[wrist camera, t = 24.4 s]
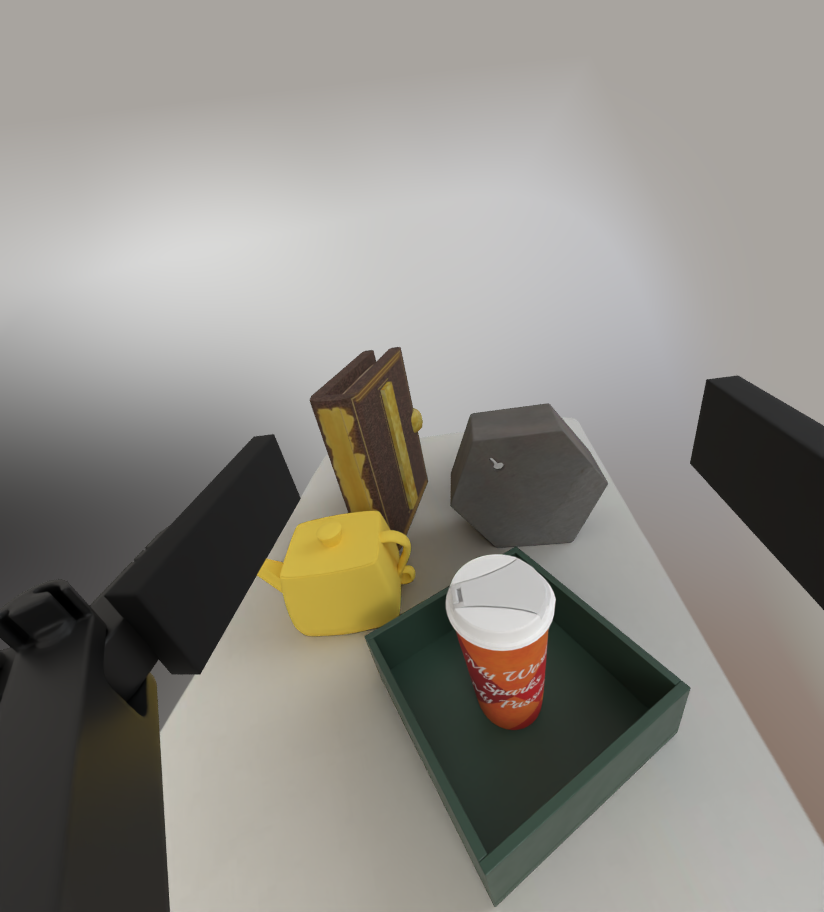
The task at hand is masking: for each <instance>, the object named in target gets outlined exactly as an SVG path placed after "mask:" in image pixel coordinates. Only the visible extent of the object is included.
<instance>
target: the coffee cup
mask: <svg viewBox="0 0 824 912" xmlns="http://www.w3.org/2000/svg"><path fill="white" fill-rule="evenodd" d="M555 601H556V598H555V595H554V592H553V590H552V588H551V586H550V585H549V584H548V582H547V581H546V580H545V579H544V577H542V576H541V575H540V574H539V573H538V572H537V571H536V570H535V569H534V568H533V567H532V566H530V565H529V564H527V563H525V562H524V561H522V560H520V559H518V558H516V557H513V556H509V555H502V554H493V555H485V556H481V557H478V558H475V559H473V560H471V561H469V562H468V563H466V564H465V565H463V566H462V567H461V568H460V569H459V570H458V572H457V573H456V574H455V576H454V578H453V579H452V582H451V585H450V588H449V590H448V593H447V596H446V611H447V616H448V618H449V620H450V623H451V624H452V626H453V627H454V629H455V630H456V633H457V636H458V640H459V643H460V646H461V649H462V652H463V655H464V658H465V661H466V664H467V667H468V671H469V674H470V677H471V681H472V684H473V687H474V690H475V693H476V696H477V699H478V702H479V704H480V707H481V709H482V711H483V712H484V714H485V715H486V717H487V718H488V719H489V720H490V721H491V722H493V723H494V724H495V725H497V726H499V727H501V728H504V729H509V730H518V729H523V728H525V727H527V726H529V725H530V724H532V723H533V722H534V721H535V720H536V718H537V717H538V715H539V713H540V710H541V707H542V701H543V693H544V681H545V669H546V655H547V641H548V628H549V626H550V624H551V623H552V620H553V616H554V609H555Z"/></svg>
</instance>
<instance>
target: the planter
mask: <svg viewBox="0 0 824 912" xmlns="http://www.w3.org/2000/svg"><path fill="white" fill-rule="evenodd" d="M490 458H493V459H494V460H495V461H496V462H497V463H503V464H504V466H503V467H502V468H500V469H495V468H494V467H493V466H494V463H493V462H492V461H491V460H490ZM607 485H608V482H607V481H606V479H605V477H604V475H603V474H602V472H601V470H600V468H599V467H598V465H597V463H596V461H595V460H594V458H593V456H592V454H591V453H590V451H589V450H588V449H587V447H586V446H585V445H584V444H583V443H582V442H581V440H580V439H579V438H578V437H577V436H576V434H575V433H574V432H573V431H572V430H571V429H570V427H569V426H568V425H567V424H566V423H565V422H564V420H563V419H562V418H561V417H560V416H559V415H558V413H557V412H556V411H555V410H554V409H553V408H552V406H551V405H550V404H540V405H533V406H525V407H518V408H510V409H502V410H495V411H487V412H480V413H473V414H471V415H470V417H469V420H468V423H467V427H466V430H465V432H464V435H463V438H462V441H461V444H460V447H459V450H458V454H457V457H456V460H455V463H454V466H453V469H452V472H451V507H452V508H453V509H454V510H455V511H457V512H458V513H459V514H460V515H461V516H462V517H463V518H464V519H465V520H466V521H468V522H469V523H470V524H471V525H472V526H473V527H474V528H475V529H476V530H477V531H479V532H480V533H481V534H482V535H483V536H484V537H485V538H486V539H487V540H488V541H490V542H491V543H492V544H493V545H494V546H495V547H497V548H501V547H515V546H529V545H543V544H557V543H570V542H572V541H574V539H575V537H576V536H577V534H578V533H579V531H580V529H581V528H582V526H583V524H584V523H585V521H586V519H587V518H588V516H589V515H590V513H591V511H592V510H593V508H594V506H595V505H596V503H597V501H598V500H599V498H600V496H601V495H602V493H603V491H604V490H605V488H606V486H607Z"/></svg>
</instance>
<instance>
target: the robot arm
mask: <svg viewBox="0 0 824 912" xmlns="http://www.w3.org/2000/svg"><path fill="white" fill-rule="evenodd" d="M690 464H691V465H692V466H693V467H694V468H695V469H696V470H697V471H698V472H699V474H700V475H701V476H702V477H703V478H704V479H705V480H706V481H707V482H708V484H709V485H710V486H711V487H712V488H713V489H714V490H715V491H716V492H717V493H718V495H719V496H720V497H721V498H722V499H723V500H724V501H725V502H726V503H727V504H728V505H729V507H730V508H731V509H732V510H733V511H734V512H735V513H736V514H737V515H738V517H739V518H741V520H742V521H743V522H744V523H745V524H746V525H747V526H748V527H749V529H750V530H751V531H752V532H753V533H754V534H755V535H756V536H757V537H758V538H759V539H760V541H761V542H762V543H763V544H764V545H765V546H766V547H767V548H768V549H769V551H770V552H771V553H772V554H773V555H774V556H775V557H776V558H777V559H778V560H779V561H780V563H781V564H782V565H783V566H784V567H785V568H786V569H787V570H788V571H789V572H790V574H791V575H792V576H793V577H794V578H795V579H796V580H797V581H798V582H799V583H800V584H801V586H802V587H803V588H804V589H805V590H806V591H807V592H808V593H809V594H810V596H811V597H812V598H813V599H814V600H815V601H816V602H817V603H818V604H819V605H820V606H821V607H822V609H823V610H824V426H823V425H821V424H820V423H818V422H816V421H815V420H813V419H811V418H810V417H808V416H806V415H804V414H803V413H801V412H799V411H798V410H796V409H794V408H792V407H791V406H789V405H787V404H786V403H784V402H782V401H781V400H779V399H777V398H775V397H774V396H772V395H770V394H769V393H767V392H765V391H763V390H761V389H760V388H758V387H757V386H755V385H753V384H752V383H750V382H748V381H746V380H745V379H743V378H741V377H740V376H731V377H723V378H715V379H707V380H706V385H705V390H704V395H703V400H702V405H701V410H700V415H699V420H698V426H697V431H696V436H695V441H694V446H693V451H692V456H691V461H690ZM300 499H301V498H300V496H299V493H298V491H297V489H296V486H295V484H294V482H293V479H292V477H291V474H290V472H289V469H288V467H287V464H286V462H285V460H284V458H283V455H282V452H281V450H280V448H279V445H278V443H277V441H276V438H275V436H274V435H273V434H272V435H264V436H256V437H253V438H252V439H251V441H249V442H248V443H247V445H246V446H245V447H244V448H243V449H242V450H241V451H240V452H239V453H238V454H237V455H236V456H235V458H233V459H232V460H231V462H230V463H229V464H228V465H227V466H226V467H225V468H224V469H223V470H222V471H221V472H220V473H219V474H218V475H217V476H216V477H215V479H214V480H213V481H212V482H211V483H210V484H209V485H208V486H207V487H206V488H205V489H204V490H203V491H202V492H201V493H200V494H199V496H197V498H196V499H195V500H194V501H193V502H192V503H191V504H190V505H189V506H188V507H187V508H186V509H185V510H184V511H183V512H182V514H181V515H180V516H179V517H178V518H177V519H176V520H175V521H174V522H173V523H172V524H171V525H170V526H168V527H167V528H166V529H164V530H163V531H162V532H160V533H159V534H158V535H157V536H156V537H155V538H154V539H153V540H152V541H151V542H150V543H149V544H148V545H147V546H146V549H145V550H143V551H142V552H141V553H140V554H139V555H138V556H137V557H136V558H135V559H134V562H131V563H130V564H129V565H128V566H127V567H126V568H125V569H124V570H123V571H122V572H121V574H120V575H119V576H118V577H117V578H116V579H115V580H114V581H113V582H112V583H111V584H110V585H109V586H108V587H107V588H106V589H105V590H104V592H102V594H100V596H99V597H98V598H97V599H96V600H95V601H94V602H93V603H92V604H91V605H90V606H89V605H88V604H87V603H86V602H85V600H84V599H83V598H82V597H81V596H80V595H79V594H78V593H77V592H76V591H75V589H74V588H73V587H72V586H71V585H70V584H69V583H68V582H67V581H65V580H62V579H58V580H51V581H47V582H45V583H42V584H40V585H37V586H34V587H33V588H31V589H29V590H27V591H25V592H23V593H21V594H20V595H18V596H17V597H15V598H14V599H13V600H11V601H10V602H8V603H7V604H5V605H4V606H3V607H2V608H1V609H0V638H1V639H2V640H3V641H4V642H6V643H7V644H8V645H9V646H10V648H7V649H3V650H0V912H170V905H169V888H168V871H167V853H166V836H165V819H164V802H163V785H162V767H161V750H160V733H159V716H158V699H157V684H156V681H155V679H154V677H153V675H152V674H151V673H150V671H151V670H152V668H153V667H154V665H155V664H156V662H157V661H158V660H160V661H161V663H162V664H163V665H164V666H165V667H166V668H167V669H168V671H169V672H170V673H171V674H201V672H202V670H203V669H204V667H205V665H206V663H207V662H208V660H209V658H210V656H211V655H212V653H213V651H214V649H215V648H216V646H217V644H218V642H219V641H220V639H221V637H222V635H223V634H224V632H225V630H226V628H227V627H228V625H229V623H230V621H231V620H232V618H233V616H234V614H235V613H236V611H237V609H238V607H239V606H240V604H241V602H242V600H243V599H244V597H245V595H246V593H247V592H248V590H249V588H250V586H251V585H252V583H253V581H254V579H255V578H256V576H257V574H258V572H259V571H260V569H261V567H262V565H263V564H264V562H265V560H266V558H267V557H268V555H269V553H270V551H271V550H272V548H273V546H274V544H275V543H276V541H277V539H278V537H279V536H280V534H281V532H282V530H283V529H284V527H285V525H286V523H287V522H288V520H289V518H290V516H291V515H292V513H293V511H294V509H295V508H296V506H297V504H298V502H299V501H300Z"/></svg>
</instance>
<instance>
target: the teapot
mask: <svg viewBox="0 0 824 912" xmlns="http://www.w3.org/2000/svg"><path fill="white" fill-rule="evenodd" d="M396 543H397V544H400V545H402V546H403V552H402V555H401V557H400V555H399V550H398V547H397V545H396ZM410 552H411V544H410V541H409V539H408V537H407V536H406V535H404V534H403V533H401V532H398V531H394V530H390V528H389V527H388V525H387V523H386V521H385V520H384V518H383V516H382V515H381V513H380V512H379V511H362V512H354V513H347V514H340V515H335V516H329V517H325V518H320V519H315V520H311V521H307V522H304V523H301V524H299V525H297V527H296V529H295V531H294V534H293V536H292V539H291V542H290V545H289V548H288V551H287V554H286V556H285V559H284V562H279V561H274V560H270V559H266V560H265V562H264V564H263V565H262V567H261V569H260V571H259V572H258V574H257V576H259V577H260V578H262V579H263V580H264V581H266V582H267V583H269V584H270V585H272V586H273V587H274V588H276V589H277V590H279V591H280V592H282V593H283V596H284V601H285V604H286V607H287V610H288V613H289V616H290V618H291V620H292V622H293V624H294V626H295V627H296V629H297V630H299V631H300V632H301V633H302V634H304V635H306V636H330V635H343V634H350V633H356V632H361V631H365V630H370V629H374V628H378V627H381V626H383V625H384V624H386V623H388V622H389V621H391V620H393V619H394V618H396V617H398V616H399V614H400V604H401V584H408V583H411V582H412V581H413V580H414V578H415V570H414V568H413V567H412V566H409V565H406V564H407V562H408V559H409V556H410Z"/></svg>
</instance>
